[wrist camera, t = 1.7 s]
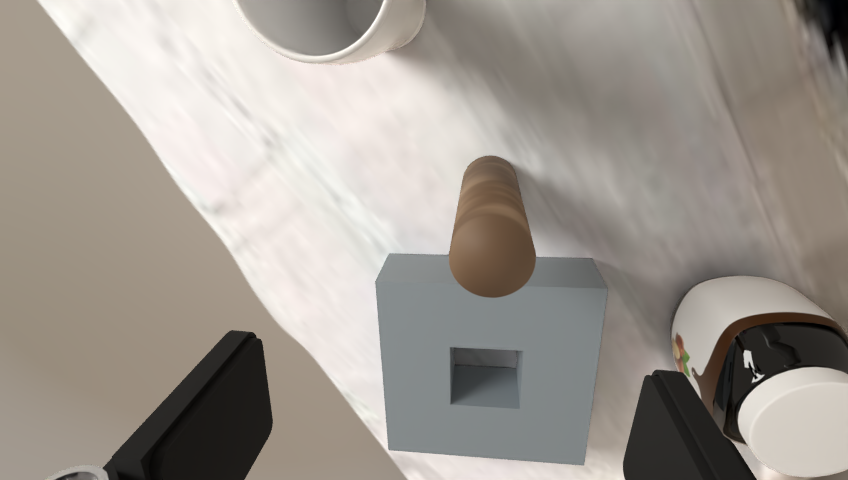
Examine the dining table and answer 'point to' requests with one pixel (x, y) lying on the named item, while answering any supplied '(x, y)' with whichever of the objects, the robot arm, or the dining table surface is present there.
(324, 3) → the drinking glass
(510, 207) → the walnut peg
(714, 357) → the spread jar
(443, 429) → the socket block
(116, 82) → the dining table surface
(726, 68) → the dining table surface
